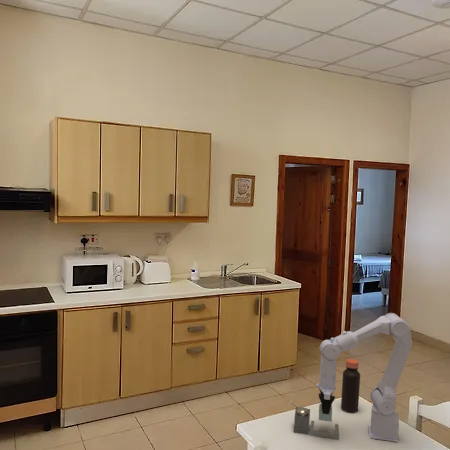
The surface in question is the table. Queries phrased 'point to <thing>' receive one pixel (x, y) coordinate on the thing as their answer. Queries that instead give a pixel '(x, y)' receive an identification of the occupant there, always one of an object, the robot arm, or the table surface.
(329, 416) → the pale blue block
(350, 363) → the bottle
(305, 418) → the motor mount
